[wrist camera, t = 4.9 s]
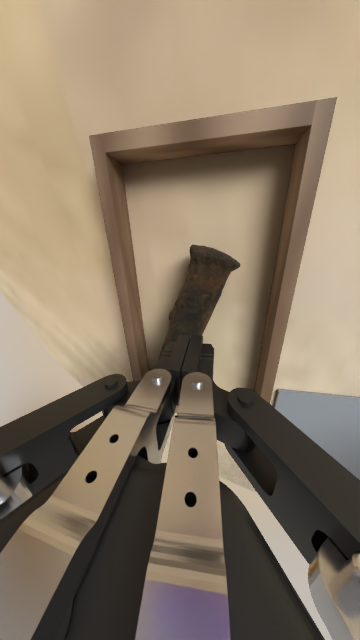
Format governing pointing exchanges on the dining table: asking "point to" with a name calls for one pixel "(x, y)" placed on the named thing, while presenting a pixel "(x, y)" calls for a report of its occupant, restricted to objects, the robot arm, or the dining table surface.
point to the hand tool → (199, 292)
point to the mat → (326, 422)
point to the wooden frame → (208, 138)
